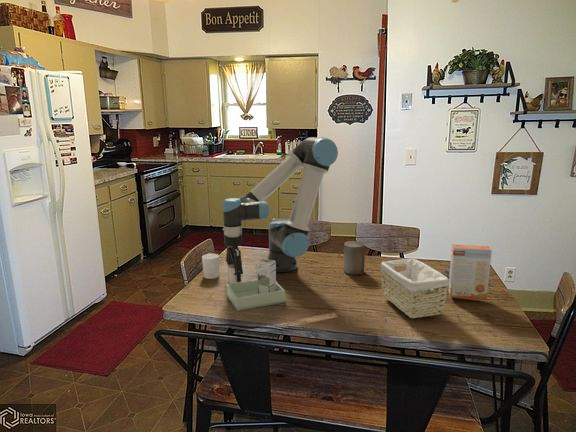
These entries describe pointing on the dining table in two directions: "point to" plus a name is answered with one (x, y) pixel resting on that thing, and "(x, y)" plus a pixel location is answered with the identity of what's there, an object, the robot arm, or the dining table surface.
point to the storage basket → (414, 287)
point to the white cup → (210, 265)
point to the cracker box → (469, 271)
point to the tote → (252, 295)
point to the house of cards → (447, 272)
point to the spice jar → (231, 273)
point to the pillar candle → (354, 257)
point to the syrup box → (266, 276)
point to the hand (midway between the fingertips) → (234, 283)
